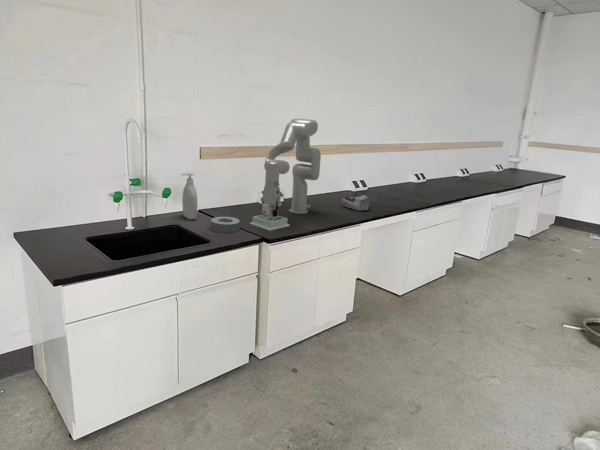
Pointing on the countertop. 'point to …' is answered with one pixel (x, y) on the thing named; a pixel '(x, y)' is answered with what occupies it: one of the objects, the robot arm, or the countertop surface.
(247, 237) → the countertop surface
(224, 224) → the tape roll
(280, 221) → the dock
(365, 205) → the cell model
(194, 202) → the soap bottle
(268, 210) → the ink box
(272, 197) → the robot arm
